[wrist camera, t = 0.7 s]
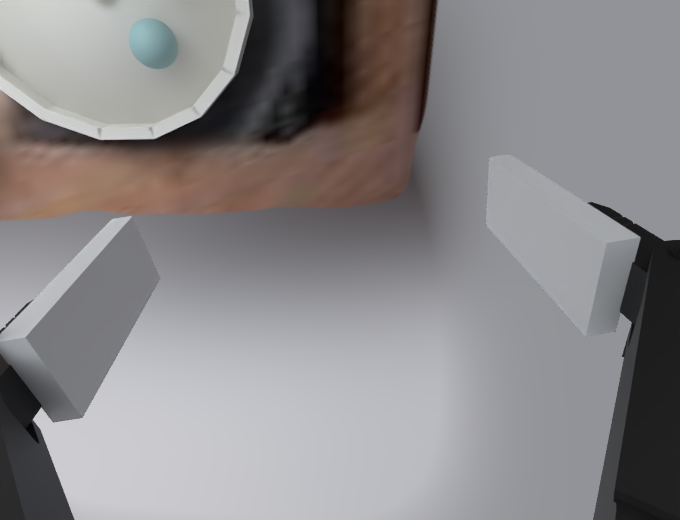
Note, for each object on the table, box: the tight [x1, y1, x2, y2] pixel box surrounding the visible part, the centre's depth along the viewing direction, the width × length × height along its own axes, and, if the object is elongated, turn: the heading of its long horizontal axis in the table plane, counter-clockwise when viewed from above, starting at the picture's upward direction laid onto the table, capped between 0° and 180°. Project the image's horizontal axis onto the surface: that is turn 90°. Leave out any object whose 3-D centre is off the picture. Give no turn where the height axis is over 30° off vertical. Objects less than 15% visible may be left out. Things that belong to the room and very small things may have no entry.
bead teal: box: [129, 18, 178, 69], centre depth 32 cm, size 4×4×4 cm
